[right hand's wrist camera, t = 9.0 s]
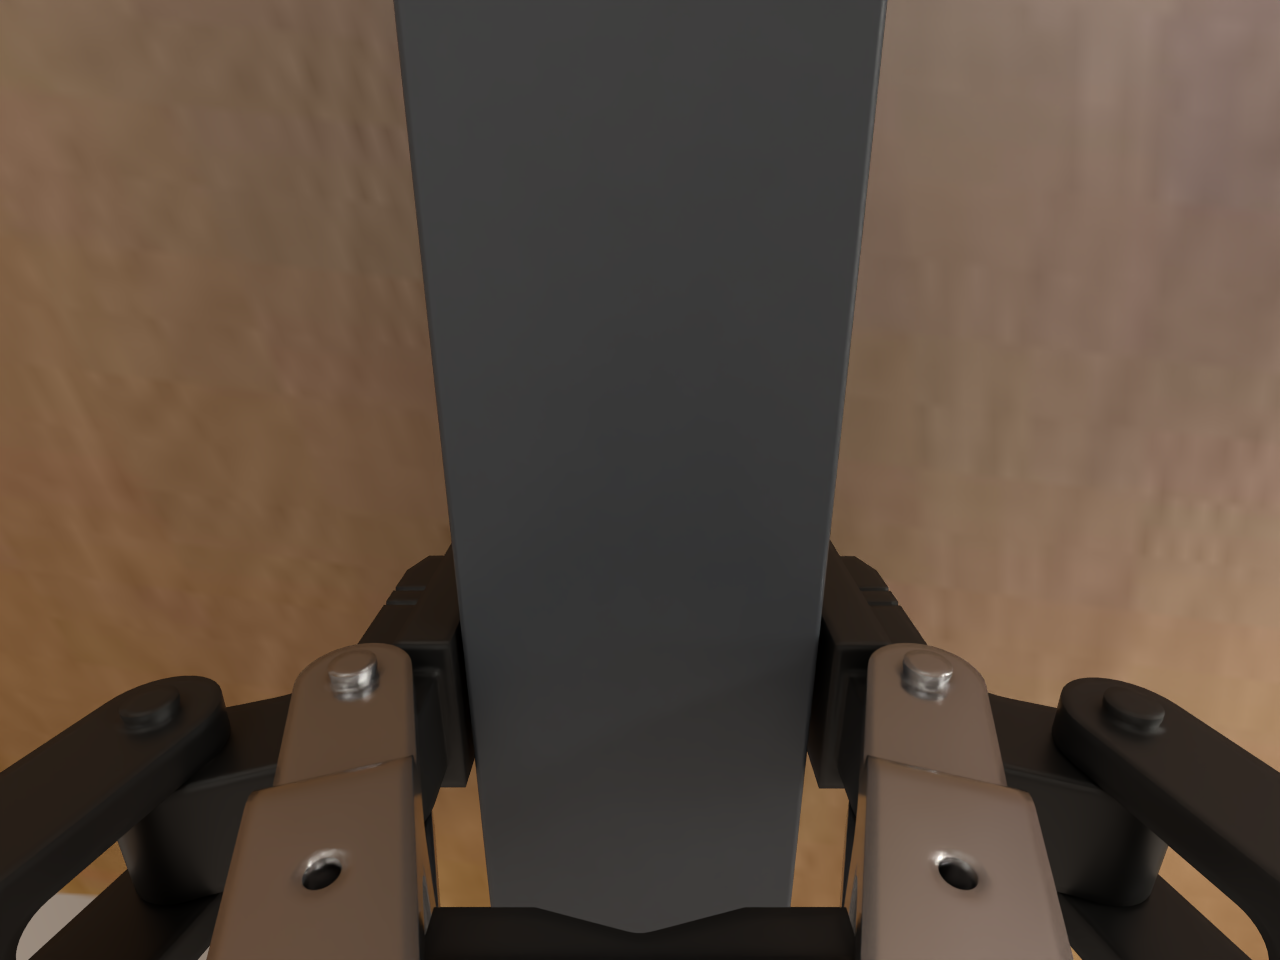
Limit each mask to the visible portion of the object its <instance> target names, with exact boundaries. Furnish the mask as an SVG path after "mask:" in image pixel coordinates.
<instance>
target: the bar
mask: <svg viewBox="0 0 1280 960" xmlns="http://www.w3.org/2000/svg"><path fill="white" fill-rule="evenodd" d="M393 2H394V11H395V20H396V30H397V39H398V48H399V57H400V67H401V76H402V85H403V95H404V104H405V113H406V122H407V132H408V141H409V150H410V160H411V169H412V178H413V188H414V197H415V206H416V215H417V225H418V234H419V243H420V253H421V262H422V271H423V280H424V290H425V299H426V308H427V318H428V327H429V336H430V346H431V355H432V364H433V373H434V383H435V392H436V401H437V411H438V420H439V429H440V438H441V448H442V457H443V466H444V476H445V485H446V494H447V504H448V513H449V522H450V531H451V541H452V550H453V559H454V569H455V578H456V587H457V596H458V606H459V615H460V624H461V634H462V643H463V652H464V662H465V671H466V680H467V689H468V699H469V708H470V717H471V727H472V736H473V745H474V755H475V764H476V773H477V782H478V792H479V801H480V810H481V820H482V829H483V838H484V847H485V857H486V866H487V875H488V885H489V894H490V903H491V907H536V908H540V909H544V910H548V911H552V912H555V913H559V914H563V915H567V916H571V917H574V918H578V919H582V920H586V921H590V922H594V923H597V924H601V925H605V926H609V927H613V928H617V929H620V930H624V931H628V932H633V933H647V932H652V931H656V930H660V929H663V928H667V927H671V926H675V925H679V924H683V923H686V922H690V921H694V920H698V919H702V918H706V917H709V916H713V915H717V914H721V913H725V912H728V911H732V910H736V909H740V908H744V907H790V905H791V896H792V886H793V877H794V868H795V858H796V849H797V840H798V830H799V821H800V812H801V802H802V793H803V784H804V774H805V765H806V756H807V746H808V737H809V728H810V718H811V709H812V700H813V690H814V681H815V672H816V662H817V653H818V644H819V634H820V625H821V616H822V606H823V597H824V588H825V578H826V569H827V560H828V550H829V541H830V532H831V522H832V513H833V504H834V494H835V485H836V476H837V466H838V457H839V448H840V438H841V429H842V420H843V410H844V401H845V392H846V382H847V373H848V364H849V354H850V345H851V335H852V326H853V317H854V307H855V298H856V289H857V279H858V270H859V261H860V251H861V242H862V233H863V223H864V214H865V205H866V195H867V186H868V177H869V167H870V158H871V149H872V139H873V130H874V121H875V111H876V102H877V93H878V83H879V74H880V65H881V55H882V46H883V37H884V27H885V18H886V9H887V0H393Z"/></svg>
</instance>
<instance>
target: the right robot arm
mask: <svg viewBox="0 0 1280 960" xmlns="http://www.w3.org/2000/svg"><path fill="white" fill-rule="evenodd" d="M807 752H808V755H809V758H810V761H811V765H812V768H813V771H814V774H815V777H816V780H817V783H818V787H819V788H845V791H846V793H847V796H848V799H849V804H848V811H847V819H846V826H845V839H844V853H843V867H842V880H841V894H840V907H744V908H740V909H736V910H732V911H728V912H725V913H721V914H717V915H713V916H709V917H706V918H702V919H698V920H694V921H690V922H686V923H683V924H679V925H675V926H671V927H667V928H663V929H660V930H656V931H652V932H647V933H633V932H628V931H624V930H620V929H617V928H613V927H609V926H605V925H601V924H597V923H594V922H590V921H586V920H582V919H578V918H574V917H571V916H567V915H563V914H559V913H555V912H552V911H548V910H544V909H540V908H536V907H440V894H439V880H438V867H437V853H436V839H435V826H434V819H433V811H432V809H433V807H434V804H435V801H436V798H437V795H438V792H439V790H440V787H466V784H467V781H468V778H469V775H470V772H471V768H472V765H473V762H474V759H475V755H474V745H473V736H472V727H471V717H470V708H469V699H468V689H467V680H466V671H465V662H464V652H463V643H462V634H461V624H460V615H459V606H458V596H457V587H456V578H455V569H454V559H453V550H452V543H451V545H450V547H449V549H448V550H447V552H446V554H445V555H444V556H428V557H426V558H425V559H423V560H422V561H420V562H419V563H417V564H416V565H414V566H413V567H411V568H410V569H408V570H407V571H406V573H405V574H404V576H403V577H402V579H401V580H400V582H399V583H398V585H397V586H396V591H393V592H392V594H391V595H390V597H389V598H388V600H387V601H386V605H384V606H383V607H382V609H381V610H380V612H379V613H378V615H377V616H376V618H375V619H374V620H373V622H372V623H371V625H370V626H369V628H368V629H367V631H366V632H365V634H364V635H363V637H362V638H361V640H360V641H359V643H358V644H357V645H352V646H347V647H344V648H341V649H338V650H335V651H333V652H330V653H328V654H326V655H324V656H322V657H320V658H318V659H317V660H315V661H314V662H312V663H311V664H310V665H308V666H307V667H306V668H305V669H304V670H303V671H302V672H301V673H300V674H299V676H298V677H297V679H296V681H295V684H294V687H293V691H292V694H288V695H285V696H280V697H276V698H271V699H266V700H261V701H256V702H251V703H246V704H241V705H236V706H231V707H226V706H225V702H224V699H223V695H222V691H221V688H220V686H219V685H218V684H217V683H216V682H215V681H213V680H211V679H209V678H205V677H200V676H178V677H171V678H165V679H161V680H157V681H153V682H150V683H147V684H144V685H141V686H138V687H136V688H134V689H131V690H129V691H127V692H125V693H123V694H121V695H119V696H117V697H115V698H113V699H112V700H110V701H108V702H107V703H105V704H104V705H102V706H101V707H99V708H98V709H96V710H95V711H93V712H92V713H90V714H89V715H87V716H86V717H84V718H83V719H81V720H80V721H78V722H76V723H75V724H73V725H72V726H70V727H69V728H67V729H66V730H64V731H63V732H61V733H60V734H58V735H57V736H55V737H54V738H52V739H51V740H49V741H48V742H46V743H45V744H43V745H42V746H40V747H39V748H37V749H36V750H34V751H33V752H31V753H29V754H28V755H26V756H25V757H23V758H22V759H20V760H19V761H17V762H16V763H14V764H13V765H11V766H10V767H8V768H7V769H5V770H4V771H2V772H1V773H0V960H16V950H17V946H18V943H19V939H20V937H21V935H22V933H23V931H24V929H25V927H26V926H27V924H28V922H29V921H30V920H31V918H32V917H33V916H34V914H35V913H36V912H37V911H38V910H39V909H40V908H41V907H42V906H43V905H44V904H45V903H46V902H47V901H48V900H49V899H50V898H51V897H53V896H54V895H55V894H56V893H57V892H58V891H59V890H61V889H62V888H63V887H64V886H65V885H66V884H68V883H69V882H70V881H71V880H72V879H73V878H75V877H76V876H77V875H78V874H79V873H80V872H82V871H83V870H84V869H85V868H86V867H87V866H88V865H90V864H91V863H92V862H93V861H94V860H95V859H97V858H98V857H99V856H100V855H101V854H102V853H104V852H105V851H106V850H107V849H108V848H109V847H111V846H112V845H113V844H114V843H115V842H116V841H118V843H119V846H120V849H121V852H122V855H123V857H124V860H125V863H126V866H127V868H128V869H127V870H126V871H125V872H124V873H123V874H121V875H120V876H119V877H118V878H117V879H116V880H115V881H114V882H113V883H112V884H111V885H109V886H108V887H107V888H106V889H105V890H104V891H103V892H102V893H101V894H100V895H98V896H97V897H96V898H95V899H94V900H93V901H92V902H91V903H90V904H89V905H88V906H86V907H85V908H84V909H83V910H82V911H81V912H80V913H79V914H78V915H77V916H76V917H74V918H73V919H72V920H71V921H70V922H69V923H68V924H67V925H66V926H65V927H64V928H62V929H61V930H60V931H59V932H58V933H57V934H56V935H55V936H54V937H53V938H51V939H50V940H49V941H48V942H47V943H46V944H45V945H44V946H43V947H42V948H41V949H39V950H38V951H37V952H36V953H35V954H34V955H33V956H32V957H31V958H30V959H29V960H198V959H199V958H200V956H201V955H202V954H203V953H204V952H205V951H206V949H207V948H208V947H209V946H210V948H209V951H208V956H207V959H206V960H1074V959H1073V955H1072V951H1071V947H1072V948H1073V949H1074V951H1075V952H1076V953H1077V954H1078V955H1079V956H1080V958H1081V959H1082V960H1251V959H1250V958H1249V957H1248V956H1247V955H1246V954H1245V953H1244V952H1243V951H1242V950H1241V949H1239V948H1238V947H1237V946H1236V945H1235V944H1234V943H1233V942H1232V941H1231V940H1230V939H1229V938H1227V937H1226V936H1225V935H1224V934H1223V933H1222V932H1221V931H1220V930H1219V929H1218V928H1217V927H1215V926H1214V925H1213V924H1212V923H1211V922H1210V921H1209V920H1208V919H1207V918H1206V917H1204V916H1203V915H1202V914H1201V913H1200V912H1199V911H1198V910H1197V909H1196V908H1195V907H1194V906H1192V905H1191V904H1190V903H1189V902H1188V901H1187V900H1186V899H1185V898H1184V897H1183V896H1182V895H1180V894H1179V893H1178V892H1177V891H1176V890H1175V889H1174V888H1173V887H1172V886H1171V885H1170V884H1168V883H1167V882H1166V881H1165V880H1164V879H1163V878H1162V877H1161V876H1160V875H1159V874H1158V872H1159V870H1160V867H1161V864H1162V862H1163V859H1164V856H1165V853H1166V851H1167V848H1168V846H1170V847H1171V848H1172V849H1173V850H1174V851H1175V852H1176V853H1178V854H1179V855H1180V856H1181V857H1182V858H1183V859H1185V860H1186V861H1187V862H1188V863H1189V864H1190V865H1192V866H1193V867H1194V868H1195V869H1196V870H1197V871H1199V872H1200V873H1201V874H1202V875H1203V876H1204V877H1205V878H1207V879H1208V880H1209V881H1210V882H1211V883H1212V884H1214V885H1215V886H1216V887H1217V888H1218V889H1219V890H1221V891H1222V892H1223V893H1224V894H1225V895H1226V896H1228V897H1229V898H1230V899H1231V900H1232V901H1233V902H1234V903H1236V904H1237V905H1238V906H1239V907H1240V908H1241V909H1242V910H1243V911H1244V912H1245V913H1246V914H1247V915H1248V917H1249V918H1250V919H1251V920H1252V922H1253V923H1254V924H1255V926H1256V927H1257V929H1258V930H1259V932H1260V934H1261V936H1262V938H1263V940H1264V942H1265V944H1266V948H1267V951H1268V956H1269V960H1280V773H1279V772H1278V771H1276V770H1275V769H1273V768H1272V767H1270V766H1269V765H1267V764H1266V763H1264V762H1263V761H1261V760H1260V759H1258V758H1257V757H1255V756H1254V755H1252V754H1251V753H1249V752H1248V751H1246V750H1244V749H1243V748H1241V747H1240V746H1238V745H1237V744H1235V743H1234V742H1232V741H1231V740H1229V739H1228V738H1226V737H1225V736H1223V735H1222V734H1220V733H1219V732H1217V731H1216V730H1214V729H1213V728H1211V727H1210V726H1208V725H1207V724H1205V723H1204V722H1202V721H1201V720H1199V719H1198V718H1196V717H1194V716H1193V715H1191V714H1190V713H1188V712H1187V711H1185V710H1184V709H1182V708H1181V707H1179V706H1178V705H1176V704H1175V703H1173V702H1171V701H1170V700H1168V699H1166V698H1164V697H1162V696H1160V695H1158V694H1156V693H1154V692H1152V691H1149V690H1147V689H1145V688H1142V687H1139V686H1136V685H1133V684H1130V683H1126V682H1122V681H1118V680H1113V679H1106V678H1081V679H1077V680H1074V681H1071V682H1069V683H1068V684H1066V685H1065V686H1064V687H1063V689H1062V692H1061V695H1060V699H1059V703H1058V707H1057V708H1054V707H1049V706H1044V705H1039V704H1034V703H1029V702H1024V701H1019V700H1014V699H1009V698H1005V697H1001V696H997V695H994V694H991V693H988V691H987V687H986V684H985V681H984V679H983V677H982V676H981V674H980V673H979V672H978V671H977V670H976V669H975V668H974V667H973V666H972V665H970V664H969V663H968V662H966V661H965V660H963V659H962V658H960V657H958V656H956V655H954V654H952V653H950V652H947V651H945V650H942V649H939V648H936V647H933V646H928V645H927V644H926V642H925V641H924V639H923V638H922V636H921V635H920V634H919V632H918V631H917V629H916V628H915V626H914V625H913V623H912V622H911V620H910V619H909V617H908V616H907V614H906V613H905V611H904V610H903V609H902V607H901V606H898V601H897V600H896V598H895V597H894V595H893V594H892V592H891V591H888V587H887V585H886V584H885V582H884V581H883V579H882V578H881V576H880V575H879V573H878V572H877V571H876V570H875V569H873V568H872V567H870V566H869V565H867V564H866V563H864V562H863V561H861V560H860V559H858V558H857V557H855V556H839V554H838V552H837V551H836V549H835V547H834V546H833V544H832V542H831V541H829V550H828V560H827V569H826V578H825V588H824V597H823V606H822V616H821V625H820V634H819V644H818V653H817V662H816V672H815V681H814V690H813V700H812V709H811V718H810V728H809V737H808V746H807ZM1070 946H1071V947H1070Z"/></svg>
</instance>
